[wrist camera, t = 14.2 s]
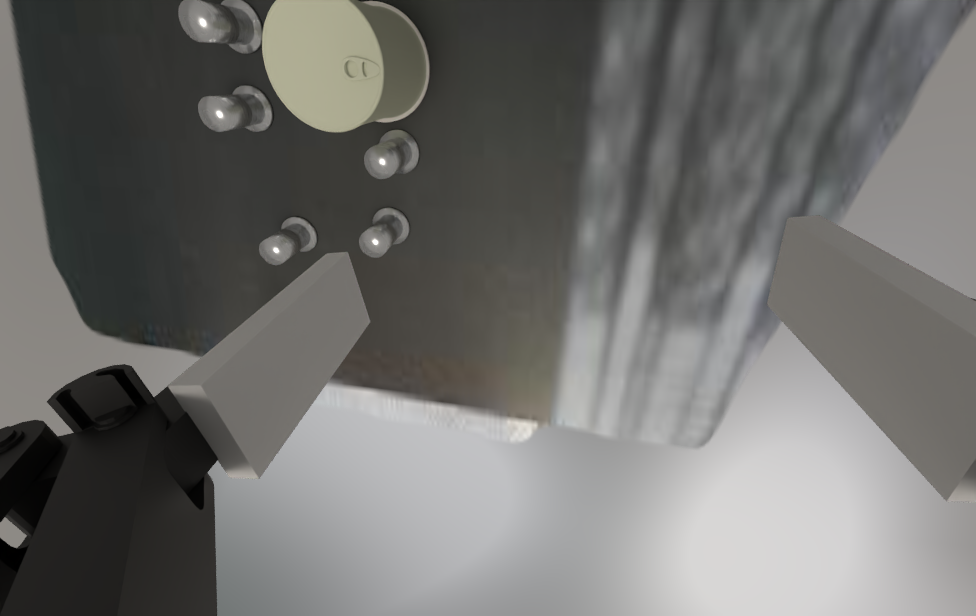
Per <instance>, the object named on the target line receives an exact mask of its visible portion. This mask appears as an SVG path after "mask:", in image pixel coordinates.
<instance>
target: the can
mask: <svg viewBox="0 0 976 616" xmlns="http://www.w3.org/2000/svg"><path fill="white" fill-rule="evenodd" d="M262 52H263V59H264V64H265V68H266V71H267V74H268V77H269V79H270V82H271V84H272V86H273V88H274V90H275V92H276V93H277V95H278V96H279V98H280V99H281V101H282V102H283V103H284V104H285V106H286V107H287V108H288V109H289V110H290V111H291V112H292V113H293V114H294V115H295V116H296V117H298V118H299V119H300V120H302V121H303V122H305V123H306V124H308V125H310V126H312V127H314V128H317V129H319V130H323V131H327V132H345V131H349V130H352V129H355V128H357V127H359V126H361V125H363V124H367V123H370V122H373V121H376V120H380V119H383V118H393V117H397V116H400V115H402V114H404V113H406V112H407V111H408V110H410V109H411V108H412V107H413V106H414V105H415V104H416V102H417V101H418V99H419V98H420V96H421V93H422V91H423V88H424V85H425V80H426V59H425V54H424V50H423V47H422V44H421V42H420V40H419V38H418V36H417V34H416V32H415V31H414V29H413V28H412V27H411V25H410V24H409V23H408V22H407V21H406V20H405V19H404V18H403V17H401V16H400V15H399V14H397V13H396V12H394V11H392V10H390V9H388V8H385V7H381V6H372V5H369V4H366V3H363V2H360V1H358V0H276V1H275V2H274V4H273V5H272V7H271V8H270V10H269V12H268V15H267V17H266V20H265V23H264V28H263V34H262Z"/></svg>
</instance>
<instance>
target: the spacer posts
mask: <svg viewBox="0 0 976 616" xmlns="http://www.w3.org/2000/svg"><path fill="white" fill-rule="evenodd" d="M178 13H179V20H180V23H181V25H182V27H183V29H184V30H185V32H186V33H187V34H188V35H189V36H190V37H191V38H192V39H194V40H196V41H199V42H209V43H223V44H228V45H229V46H230V47H232V48H233V49H234V50H236V51H238V52H240V53H247V54H249V53H254V52H256V51H257V50H259V48H260V47H261V45H262V34H263V25H262V22H261V20H260V18H259V16H258V14H257V12H256V11H255V10H254V9H253V7H252V6H250V5H249V4H248V3H247V2H245V1H243V0H224V1H223V2H222V3H221V4H216V3H210V2H205V1H200V0H184V1H182V3H181V4H180V6H179V12H178ZM198 111H199V115H200V117H201V119H202V121H203V122H204V123H205V125H206V126H207V127H209V128H210V129H212V130H214V131H217V132H222V131H227V130H232V129H237V128H242V127H245V128H247V129H249V130H251V131H255V132H260V131H264V130H267V129H268V128H269V127H270V126H271V124H272V122H273V118H274V113H273V108H272V105H271V103H270V101H269V99H268V98H267V96H266V95H265V94H264V93H263V92H262V91H261V90H259V89H258V88H256V87H253V86H248V85H246V86H240V87H238V88H236V89H235V90H234V92H233V94H232V95H220V96H208V97H204V98H202V99H201V100H200V102H199V105H198ZM419 156H420V152H419V147H418V144H417V142H416V140H415V139H414V138H413V137H412V136H411V135H410V134H409V133H407V132H406V131H403V130H398V129H396V130H391V131H389V132H387V133H385V134H384V135H383V136H382V138H381V140H380V142H379V144H378V145H375V146H373V147H371V148H369V149H368V150H367V152H366V153H365V157H364V163H365V167H366V169H367V171H368V172H369V173H370V174H371V175H372V176H374V177H375V178H378V179H386V178H388V177H390V176H391V175H393V174H394V173H400V174H403V173H407V172H409V171H411V170H412V169H414V168H415V166H416V165H417V163H418V161H419ZM372 224H373V225H372V226H371V227H369V228H368V229H367V230H366V231H365V232H364V233H363V234H362V235H361V236H360V239H359V245H360V248H361V249H362V251H363V252H364V253H365V254H366V255H368V256H370V257H374V258H377V257H381V256H382V255H384V254H385V252H386V251H387V250H388V249H389V248H390V247H391V246H392V245H393V244H399V243H401V242H403V241H404V240H405V239H406V238H407V237H408V235H409V232H410V225H409V221H408V219H407V217H406V216H405V215H404V214H403V213H402V212H401V211H399V210H398V209H395V208H391V207H386V208H383V209H381V210H379V211H378V212H377V213H376V214H375V216H374V218H373V223H372ZM317 241H318V235H317V232H316V230H315V228H314V226H313V225H312V224H311V223H310V222H309V221H308V220H306V219H304V218H302V217H297V216H294V217H290V218H288V219H286V220H285V221H284V223H283V224H282V230H280V231H279V232H277V233H275V234H274V235H272V236H270V237H269V238H267V239H265V240H264V241H262V242H261V243H260V245H259V251H260V254H261V256H262V257H263V259H264V260H266V261H267V262H268V263H270V264H273V265H280V264H282V263H283V262H285V261H286V260H287V259H289V258H290V257H291V256H293V255H294V254H295V253H297V252H298V251H303V252H305V251H309V250H311V249H313V248H314V247H315V246H316V244H317Z"/></svg>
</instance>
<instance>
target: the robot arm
mask: <svg viewBox="0 0 976 616" xmlns="http://www.w3.org/2000/svg"><path fill="white" fill-rule="evenodd" d="M767 305H768V306H769V307H770V308H771V310H772V311H773V312H774V313H775V314H776V315H777V316H778V317H779V318H780V319H781V321H782V322H784V324H785V325H786V326H787V327H788V328H789V329H790V330H791V331H792V333H793V334H794V335H796V337H797V338H798V339H799V340H800V341H801V342H802V344H803V345H804V346H805V347H806V348H807V349H808V350H809V351H810V352H811V353H812V354H813V355H814V357H815V358H816V359H817V360H818V361H819V362H820V363H821V364H822V365H823V366H824V368H825V369H826V370H827V371H828V372H829V373H830V374H831V375H832V376H833V377H834V378H835V380H836V381H837V382H838V383H839V384H840V385H841V386H842V387H843V388H844V389H845V391H846V392H848V394H849V395H850V396H851V397H852V398H853V399H854V400H855V402H856V403H857V404H858V405H859V406H860V407H861V408H862V409H863V410H864V411H865V412H866V414H867V415H868V416H869V417H870V418H871V419H872V420H873V421H874V422H875V423H876V425H877V426H879V428H880V429H881V430H882V431H883V432H884V433H885V434H886V436H887V437H888V438H889V439H890V440H891V441H892V442H893V443H894V444H895V445H896V446H897V447H898V449H899V450H900V451H901V452H902V453H903V454H904V455H905V456H906V457H907V459H909V461H910V462H911V463H912V464H913V465H914V466H915V467H916V468H917V469H918V471H919V472H920V473H921V474H922V475H923V476H924V477H925V478H926V479H927V480H928V482H929V483H930V484H931V485H932V486H933V487H934V488H935V489H936V490H937V491H938V493H939V494H940V495H941V496H942V497H943V498H944V499H945V500H946V501H951V502H976V300H975V299H972V298H969V297H967V296H965V295H963V294H962V293H960V292H958V291H956V290H954V289H953V288H951V287H949V286H947V285H945V284H943V283H942V282H940V281H938V280H936V279H934V278H933V277H931V276H929V275H927V274H925V273H924V272H922V271H920V270H918V269H916V268H914V267H913V266H911V265H909V264H907V263H905V262H904V261H902V260H900V259H898V258H896V257H894V256H892V255H891V254H889V253H887V252H885V251H883V250H882V249H880V248H878V247H876V246H874V245H873V244H871V243H869V242H867V241H865V240H863V239H862V238H860V237H858V236H856V235H854V234H853V233H851V232H849V231H847V230H845V229H843V228H842V227H840V226H838V225H836V224H834V223H833V222H831V221H829V220H827V219H825V218H823V217H822V216H820V215H816V216H803V217H790V218H788V219H787V223H786V227H785V232H784V236H783V240H782V244H781V248H780V252H779V257H778V261H777V265H776V269H775V273H774V277H773V282H772V286H771V290H770V294H769V298H768V303H767ZM369 323H370V319H369V316H368V313H367V310H366V307H365V304H364V301H363V298H362V295H361V292H360V289H359V285H358V282H357V279H356V276H355V273H354V270H353V267H352V264H351V261H350V258H349V255H348V252H341V253H328V254H326V255H324V256H323V257H322V258H321V259H320V260H318V261H317V262H316V263H315V264H314V265H312V266H311V267H310V268H309V269H308V270H306V271H305V272H304V273H303V274H301V275H300V276H299V277H298V278H297V279H295V280H294V281H293V282H292V283H291V284H289V285H288V286H287V287H286V288H285V289H283V290H282V291H281V292H280V293H279V294H277V295H276V296H275V297H274V298H273V299H271V300H270V301H269V302H268V303H267V304H265V305H264V306H263V307H262V308H261V309H259V310H258V311H257V312H256V313H255V314H253V315H252V316H251V317H250V318H249V319H247V320H246V321H245V322H244V323H243V324H241V325H240V326H239V327H238V328H237V329H235V330H234V331H233V332H232V333H230V334H229V335H228V336H227V337H226V338H224V339H223V340H222V341H221V342H220V343H218V344H217V345H216V346H215V347H214V348H212V349H211V350H210V351H209V352H208V353H206V354H205V355H204V356H203V357H202V358H200V359H199V360H198V361H197V362H196V363H195V364H193V365H192V366H191V367H190V368H188V370H186V371H185V372H184V373H182V374H181V375H180V376H179V377H178V378H176V379H175V380H174V381H173V382H172V383H170V384H169V385H168V386H167V387H166V388H165V389H164V390H163V391H161V392H160V393H159V394H158V395H156V396H155V397H153V396H152V394H151V393H150V392H149V390H148V389H147V388H146V386H145V385H144V383H143V382H142V380H141V379H140V377H139V376H138V375H137V373H136V372H135V371H134V369H133V368H132V366H129V365H125V364H124V365H114V366H110V367H106V368H102V369H99V370H96V371H94V372H91V373H89V374H87V375H84V376H82V377H80V378H78V379H76V380H74V381H72V382H71V383H69V384H67V385H65V386H64V387H63V388H61V389H60V390H58V391H57V392H56V393H54V394H53V395H52V397H51V398H50V399H49V400H48V401H47V402H48V404H49V405H50V406H51V407H52V408H53V409H54V410H55V411H56V413H58V415H59V416H60V417H61V418H62V419H63V421H64V422H65V423H66V424H67V425H68V426H69V427H70V428H71V429H72V431H73V432H74V433H71V434H67V435H63V436H57V435H56V434H55V433H54V432H53V431H52V430H51V429H50V428H49V427H48V426H47V425H46V424H45V423H44V421H39V420H33V421H27V422H22V423H19V424H17V425H14V426H11V427H9V426H7V427H5V428H2V429H0V522H1V521H2V520H3V518H4V517H6V518H7V519H8V520H9V521H10V522H12V523H13V524H14V525H15V526H17V527H18V528H19V529H20V530H21V531H22V532H23V533H25V534H26V535H27V537H26V538H25V540H24V541H23V542H22V544H21V545H20V546H19V547H18V548H14V547H11V546H10V545H8V544H7V543H6V542H5V541H3V540H2V539H1V538H0V616H217V593H216V554H215V553H216V551H215V550H216V549H215V509H214V508H215V507H214V484H213V481H212V479H211V477H210V476H209V475H208V473H207V472H208V471H209V470H210V468H211V467H212V466H213V465H214V464H215V463H216V461H217V460H218V461H219V463H220V464H221V466H222V467H223V469H224V470H225V472H226V473H227V475H228V476H229V477H230V478H248V479H249V478H250V479H259V478H260V477H261V475H262V474H263V473H264V471H265V470H266V468H267V467H268V466H269V464H270V463H271V461H272V460H273V459H274V457H275V456H276V454H277V453H278V451H279V450H280V449H281V447H282V446H283V444H284V443H285V441H286V440H287V439H288V437H289V436H290V435H291V433H292V432H293V430H294V429H295V427H296V426H297V425H298V423H299V422H300V420H301V419H302V417H303V416H304V415H305V413H306V412H307V411H308V409H309V408H310V406H311V405H312V404H313V402H314V401H315V399H316V398H317V396H318V395H319V394H320V392H321V391H322V389H323V388H324V387H325V385H326V384H327V382H328V381H329V380H330V378H331V377H332V375H333V374H334V372H335V371H336V370H337V368H338V367H339V365H340V364H341V363H342V361H343V360H344V358H345V357H346V356H347V354H348V353H349V351H350V350H351V348H352V347H353V346H354V344H355V343H356V341H357V340H358V339H359V337H360V336H361V334H362V333H363V332H364V330H365V329H366V327H367V326H368V324H369Z"/></svg>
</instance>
